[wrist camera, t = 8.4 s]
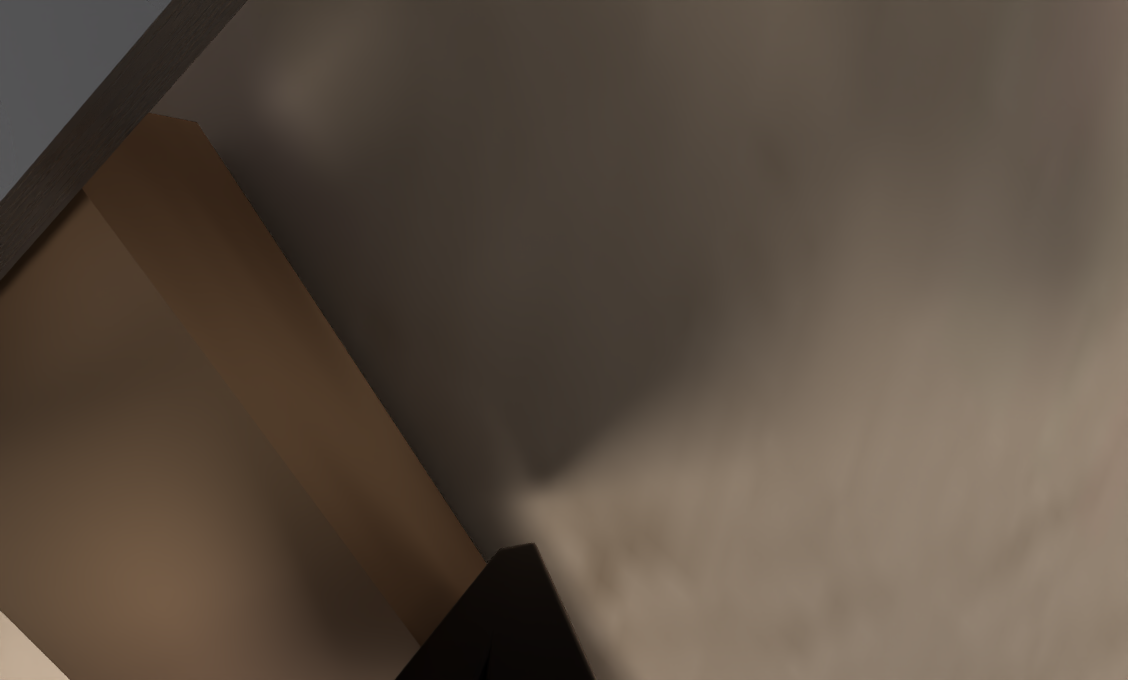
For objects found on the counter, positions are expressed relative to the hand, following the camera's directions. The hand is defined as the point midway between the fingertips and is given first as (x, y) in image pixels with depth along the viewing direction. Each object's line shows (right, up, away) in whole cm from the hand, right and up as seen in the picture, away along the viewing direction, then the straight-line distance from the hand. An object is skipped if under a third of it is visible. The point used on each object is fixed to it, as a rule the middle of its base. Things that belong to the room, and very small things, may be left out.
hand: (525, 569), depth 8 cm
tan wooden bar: (-2, -3, +2) cm, 4 cm away
